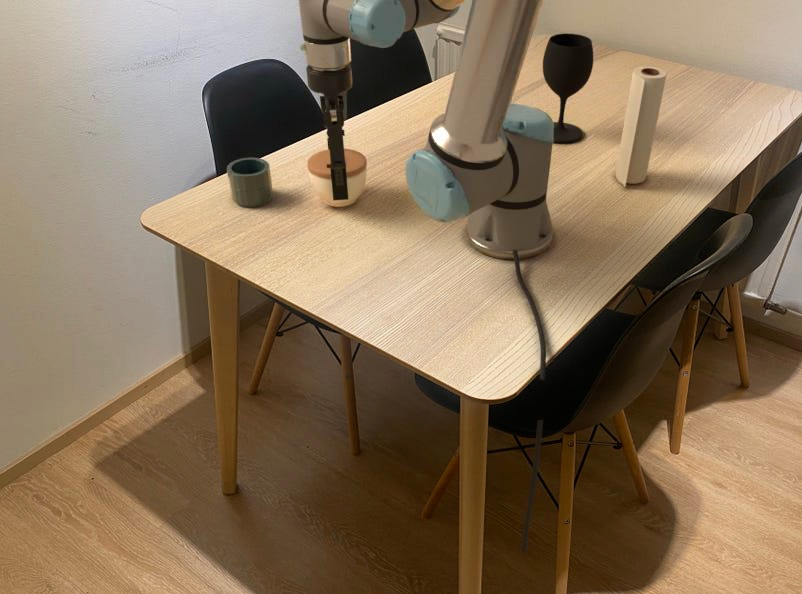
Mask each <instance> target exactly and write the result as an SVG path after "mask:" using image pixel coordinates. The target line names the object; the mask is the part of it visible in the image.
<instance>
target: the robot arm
mask: <svg viewBox="0 0 802 594" xmlns="http://www.w3.org/2000/svg"><path fill="white" fill-rule="evenodd" d="M467 1H468V0H298V6H299V14H300V22H301V30H302V31H301V32H302V37H303V44H300V48H299V49H300V51H305V52H304V57H305V63H306V64H307V66H306V68H305V69H306V70H305V71H306V78H307V80H306V81H307V88H309V90H310V91H312V92H313V93H316V94H322V95H320V96H319V102H320V111H321V113H322V118H323V126H324V128H326V135H327V138H326V139H327V150H328V149H329V150H330V160H331V163H330V164H327V168H330V170H331V181H332V191H333V201H334V200H348V187H347V175H346V162H345V154H344V149H345V145H344V137H345V135H346V134H345V129H343V127H344V126H345V120H344V119H345V118H344V117H345V116H344V111H345V102H344V96H343V94H341V93H345V92H347V91H349V90H350V89H352V87H353V74H352V65H351V64H350V63H351V61H352V53H351V40H354V41H357V42H358V43H360V44H363V45H364V46H369V47H376V48H380V49H384V48H385V49H386V48H390V47H392V46H393V45H394V44H395V43H396V42H397V41H398V40H399V39H401V37H402V36H403V33H406V32H408V31H411V30H414V29H419V28H422V27H425V26H428V25H433V24H439V23H442V22H444V21H446V20H448V19H450V18H452V17H454V16H456V15H457V13H458V12H459V10H460V7H461V5H463V4H464V3H465V2H467ZM543 2H544V0H472V2H471V5H470V10H469V13H468V18H467V22H466V26H465V30H464V34H463V38H462V42H461V46H460V49H459V55H458V57H457V62H456V67H455V70H454V74H453V79H452V83H451V87H450V91H449V95H448V99H447V102H446V106H445V111H444V113H442V114H440V115H438V116H437V117H434V119H433V120H432V122H431V125H430V129H429V132H428V136H427V141H426V144H425V146H424V148H423V149H421V148H420V149H418V150H415V151H414V153H412V154H411V155H410V156H409V157H408V158H407V161H406V163H405V169H404V170H405V181H406V184H407V188H408V190H409V192H410V194H411V196H412V198H413V200H414V202H415V203H416V205H417V206H418V207H419V209H420V210H421V211H422V212H423V213H424V215H426V216H428V217H429V218H430V219H432V220H434V221H436V222H438V223H442V224H443V223H444V224H445V223H447V224H449V223H453V222H455V221H458V220H461V219H465V218H466V217H468V216H469V217H468V218H467V222H466V225H465V226H466V227H465V238H466V240H467V243H468V244H469V245H470V246H471V247H472V248H473V249H474V250H475V251H477V252H479V253H481V254H483V255H486V256H489V257H492V258H495V259H496V258H497V259H502V260H503V259H504V260H513V262H514V269H515V274H516V277H517V281H518V283H519V285H520V286H519V287H521V290H522V292H523V294H524V296H525V297H526V300H527V301H528V303H529V304H528V305H529V307H530V309H531V312H532V315H533V318H534V321H535V325H536V328H537V332H538V339H539V346H540V357H539V359H540V360H539V363H540V364H539V368H540V369H539V379H540V380H541V381H545V380H546V375H547V373H546V372H547V371H546V370H547V369H546V368H547V346H546V338H545V333H544V328H543V324H542V320H541V318H540V315H539V311H538V309H537V306H536V304H535V302H534V299H533V297H532V295H531V292H530V291H529V289H528V287H527V285H526V284H525V281H524V278H523V276H522V271H521V265H520V260H524V259H529V258H534V257H536V256H539V255H541V254H543V253H544V252H546V251H547V250H548V249H549V248H550V246H551V244H552V241H553V234H554V230H553V223H552V219H551V215H550V211H549V207H548V202H547V196H548V195H547V194H548V186H549V178H550V170H551V169H550V168H551V162H552V161H551V160H552V153H553V145H554V143H555V142H554V138H553V132H554V123H553V122H554V121H553V119H552V117H551V116H550V114H549V113H547V112H545V111H543V110H542V109H540V108H537V107H534V106H532V105H531V106H530V105H527V104H522V103H514V102H512V100H513V96H514V94H515V91H516V88H517V83H518V81H519V78H520V74H521V73H522V72H521V71H522V68H523V66H524V62H525V60H526V56H527V53H528V49H529V47H530V44H531V40H532V38H533V34H534V30H535V28H536V24H537V21H538V18H539V15H540V12H541V9H542V5H543ZM543 424H544V419H538V420H537V424H536V434H535V444H534V454H533V460H532V461H533V462H532V469H531V478H530V484H529V490H528V499H527V506H526V513H525V519H524V526H523V533H522V541H521V548H520V552H521V554H526V552H527V545H528V537H529V532H530V531H529V530H530V523H531V518H532V512H533V511H532V510H533V504H534V497H535V490H536V484H537V477H538V469H539V461H540V454H541V445H542V436H543V426H544V425H543Z"/></svg>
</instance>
